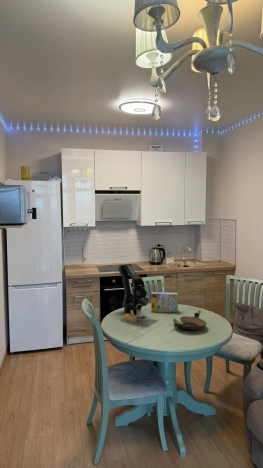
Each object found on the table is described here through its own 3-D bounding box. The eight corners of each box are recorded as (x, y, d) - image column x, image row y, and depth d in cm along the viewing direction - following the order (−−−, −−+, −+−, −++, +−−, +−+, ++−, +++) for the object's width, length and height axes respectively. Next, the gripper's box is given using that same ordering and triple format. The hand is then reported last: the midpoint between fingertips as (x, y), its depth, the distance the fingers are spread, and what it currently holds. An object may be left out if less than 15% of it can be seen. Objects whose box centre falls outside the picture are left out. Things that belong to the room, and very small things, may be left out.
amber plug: (133, 322, 223) (133, 317, 223) (123, 320, 228) (123, 314, 228) (136, 321, 226) (136, 315, 226) (126, 318, 232) (126, 313, 231)
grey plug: (140, 317, 230) (140, 312, 230) (129, 315, 235) (129, 309, 235) (143, 316, 233) (143, 310, 233) (132, 313, 238) (132, 308, 238)
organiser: (120, 322, 228) (120, 318, 228) (132, 316, 241) (132, 313, 241) (147, 329, 215) (147, 325, 214) (158, 322, 228) (158, 319, 227)
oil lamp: (165, 326, 220) (165, 315, 220) (195, 318, 238) (195, 308, 237) (188, 336, 202) (189, 325, 202) (219, 327, 220) (219, 316, 219)
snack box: (177, 310, 256) (177, 292, 255) (177, 312, 251) (178, 294, 250) (151, 309, 258) (151, 291, 257) (151, 311, 253) (151, 293, 252)
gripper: (139, 298, 220) (139, 320, 222) (153, 293, 236) (152, 313, 237) (126, 296, 227) (126, 317, 228) (140, 291, 242) (140, 311, 243)
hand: (137, 315), depth 234 cm, fingers closed on grey plug, 4 cm apart
